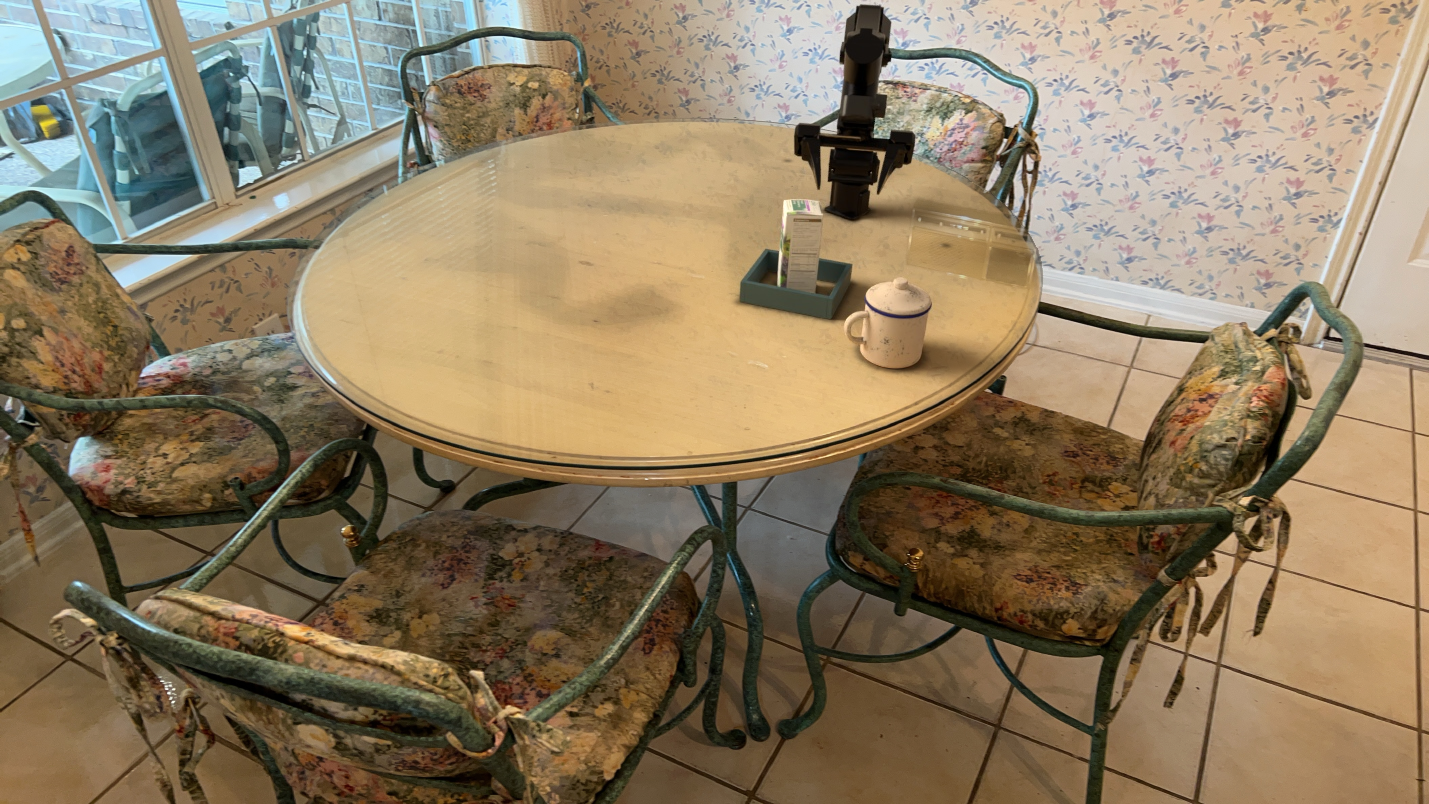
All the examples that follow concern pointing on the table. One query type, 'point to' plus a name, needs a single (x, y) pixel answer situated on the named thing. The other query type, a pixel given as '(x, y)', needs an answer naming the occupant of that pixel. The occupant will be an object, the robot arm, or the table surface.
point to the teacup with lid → (892, 323)
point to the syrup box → (800, 244)
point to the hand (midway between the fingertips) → (848, 190)
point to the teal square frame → (795, 298)
